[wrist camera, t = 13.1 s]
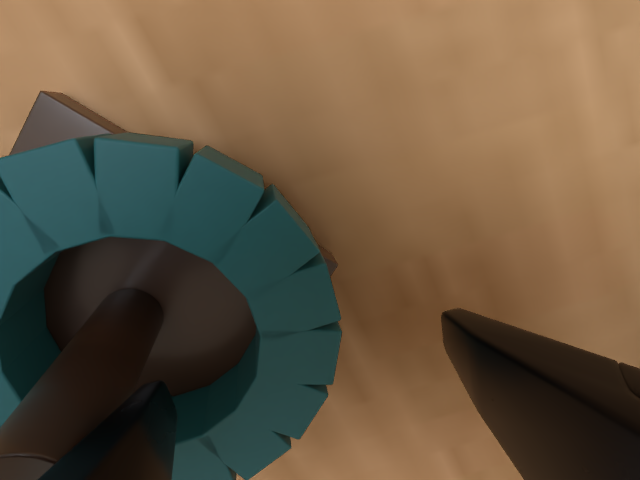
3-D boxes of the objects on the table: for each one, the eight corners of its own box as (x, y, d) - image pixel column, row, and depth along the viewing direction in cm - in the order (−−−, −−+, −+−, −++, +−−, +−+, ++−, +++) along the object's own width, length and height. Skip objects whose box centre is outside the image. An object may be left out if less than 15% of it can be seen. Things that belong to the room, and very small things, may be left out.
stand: (332, 253, 15) (409, 391, 7) (199, 446, 16) (155, 713, 9) (60, 91, 12) (-262, 56, 4) (-68, 349, 13) (-450, 631, 6)
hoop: (386, 242, 13) (412, 268, 11) (235, 481, 16) (231, 543, 13) (36, 51, 10) (-26, 34, 8) (-93, 388, 12) (-171, 449, 10)
